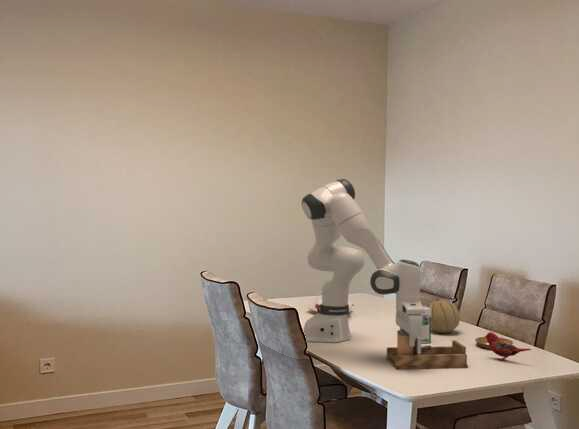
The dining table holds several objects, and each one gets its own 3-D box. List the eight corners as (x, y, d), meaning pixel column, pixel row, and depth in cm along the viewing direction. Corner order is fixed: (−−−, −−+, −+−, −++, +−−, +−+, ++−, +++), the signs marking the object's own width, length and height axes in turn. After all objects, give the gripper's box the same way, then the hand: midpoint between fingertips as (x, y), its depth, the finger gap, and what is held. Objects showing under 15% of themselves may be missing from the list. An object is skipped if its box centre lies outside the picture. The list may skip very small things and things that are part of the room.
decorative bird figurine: (485, 356, 241) (486, 330, 240) (532, 365, 229) (533, 338, 229) (482, 358, 239) (482, 331, 238) (529, 366, 227) (530, 339, 227)
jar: (399, 363, 226) (400, 333, 226) (394, 358, 232) (395, 329, 232) (416, 363, 227) (417, 333, 226) (410, 358, 233) (411, 329, 233)
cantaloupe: (458, 337, 271) (459, 303, 271) (423, 334, 276) (424, 300, 276) (460, 330, 285) (461, 297, 285) (427, 327, 290) (428, 295, 290)
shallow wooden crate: (396, 369, 222) (397, 349, 222) (386, 358, 236) (386, 340, 236) (467, 367, 225) (468, 348, 225) (453, 357, 239) (453, 339, 239)
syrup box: (418, 343, 260) (419, 308, 259) (412, 340, 265) (412, 306, 265) (431, 343, 261) (431, 308, 261) (424, 339, 267) (425, 305, 266)
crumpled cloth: (342, 303, 341) (340, 287, 340) (370, 316, 308) (368, 297, 307) (301, 312, 334) (299, 296, 333) (326, 326, 301) (323, 307, 300)
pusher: (417, 363, 225) (417, 338, 225) (409, 356, 234) (410, 332, 234) (434, 363, 226) (435, 338, 226) (426, 356, 235) (426, 332, 235)
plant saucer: (489, 353, 247) (489, 346, 247) (467, 344, 261) (467, 337, 261) (521, 350, 252) (521, 343, 252) (497, 341, 266) (497, 335, 266)
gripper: (391, 299, 239) (391, 336, 239) (408, 310, 218) (407, 349, 219) (408, 299, 239) (407, 335, 240) (425, 310, 219) (425, 349, 220)
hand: (407, 342), depth 229 cm, fingers open, 8 cm apart
